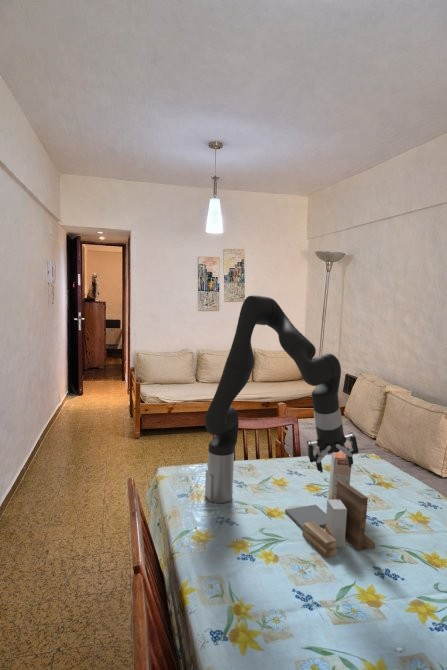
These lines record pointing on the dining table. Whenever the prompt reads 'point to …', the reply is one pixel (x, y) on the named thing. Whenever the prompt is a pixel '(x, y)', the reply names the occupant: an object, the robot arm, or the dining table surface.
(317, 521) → the slate pad
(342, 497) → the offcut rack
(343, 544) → the skincare box
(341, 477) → the cracker box
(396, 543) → the dining table surface
